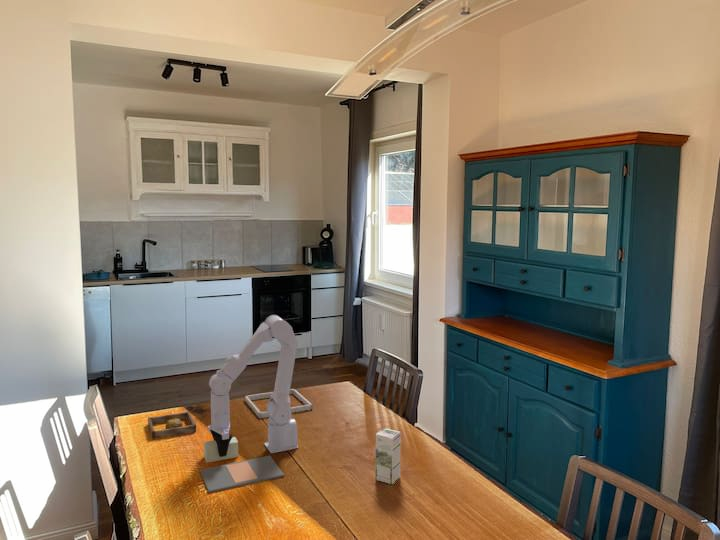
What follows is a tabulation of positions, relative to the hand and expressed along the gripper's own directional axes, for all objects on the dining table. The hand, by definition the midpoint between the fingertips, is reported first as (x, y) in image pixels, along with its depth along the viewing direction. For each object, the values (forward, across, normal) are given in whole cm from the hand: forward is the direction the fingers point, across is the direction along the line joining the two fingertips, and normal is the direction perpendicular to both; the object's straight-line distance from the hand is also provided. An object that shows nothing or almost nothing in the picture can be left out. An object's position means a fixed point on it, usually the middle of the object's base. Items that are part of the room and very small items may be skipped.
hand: (221, 452), depth 175 cm
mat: (+1, +14, +3) cm, 14 cm away
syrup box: (+2, +36, +41) cm, 55 cm away
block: (+1, 0, 0) cm, 1 cm away
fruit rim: (+1, -31, -11) cm, 33 cm away
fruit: (+2, -28, -10) cm, 30 cm away
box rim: (+1, -37, +31) cm, 48 cm away
